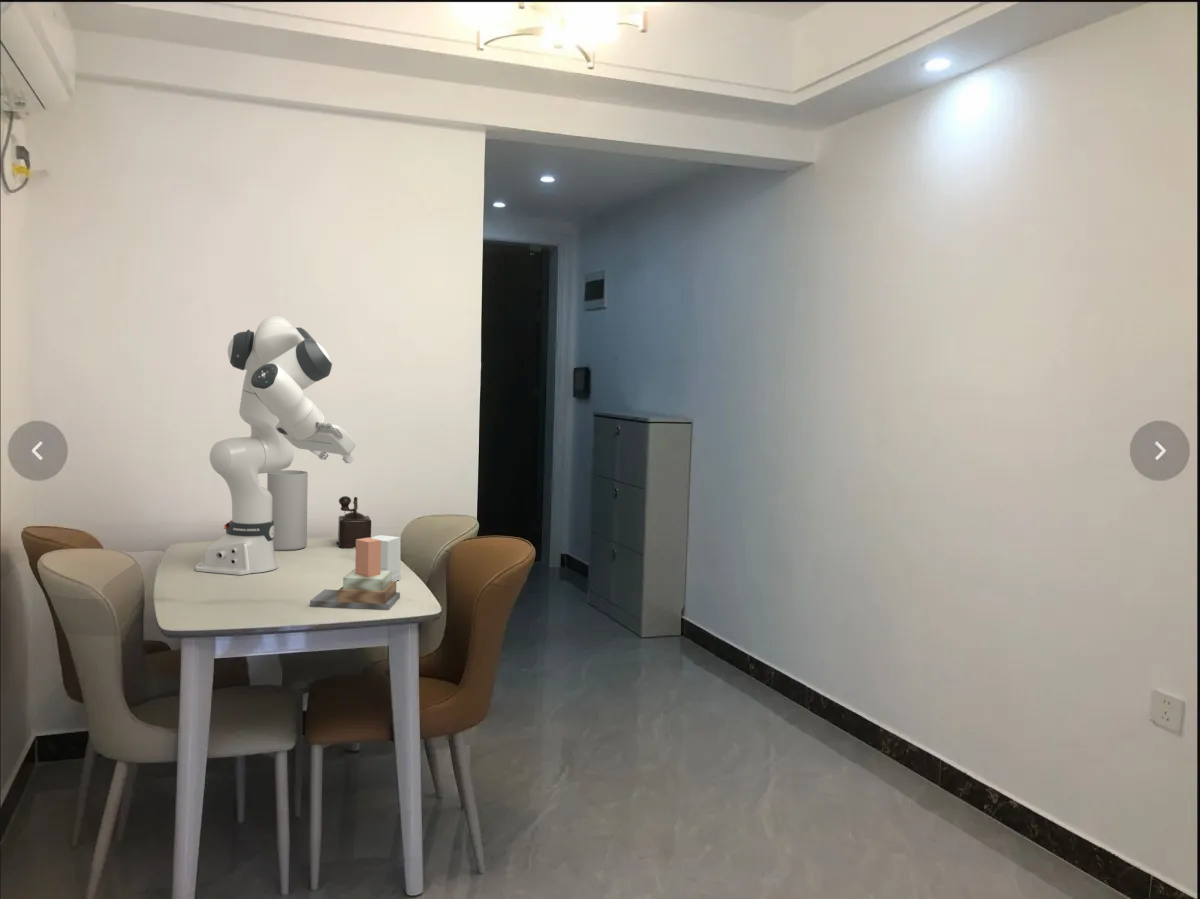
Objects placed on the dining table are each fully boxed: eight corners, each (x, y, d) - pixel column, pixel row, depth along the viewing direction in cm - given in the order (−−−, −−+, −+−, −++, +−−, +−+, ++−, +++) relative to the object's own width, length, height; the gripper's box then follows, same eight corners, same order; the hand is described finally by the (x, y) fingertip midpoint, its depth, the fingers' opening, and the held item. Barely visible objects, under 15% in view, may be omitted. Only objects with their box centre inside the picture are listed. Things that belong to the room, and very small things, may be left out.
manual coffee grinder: (335, 542, 311) (336, 490, 310) (368, 541, 315) (369, 490, 313) (337, 551, 296) (338, 497, 295) (372, 550, 300) (373, 497, 299)
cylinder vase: (284, 552, 291) (285, 475, 289) (258, 547, 298) (259, 472, 295) (314, 547, 302) (315, 472, 300) (288, 542, 308) (289, 469, 306)
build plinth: (309, 606, 229) (310, 577, 228) (324, 594, 241) (325, 567, 240) (388, 609, 229) (389, 580, 228) (399, 598, 241) (400, 570, 240)
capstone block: (367, 577, 231) (368, 542, 230) (355, 573, 234) (355, 539, 233) (380, 574, 234) (380, 540, 234) (367, 571, 237) (368, 537, 237)
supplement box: (401, 580, 261) (402, 536, 260) (386, 585, 254) (387, 540, 253) (378, 577, 263) (379, 534, 262) (364, 582, 256) (365, 538, 255)
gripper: (341, 415, 211) (373, 453, 220) (286, 409, 223) (318, 446, 232) (325, 435, 208) (358, 473, 217) (270, 428, 219) (304, 465, 228)
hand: (337, 459), depth 224 cm, fingers open, 8 cm apart
